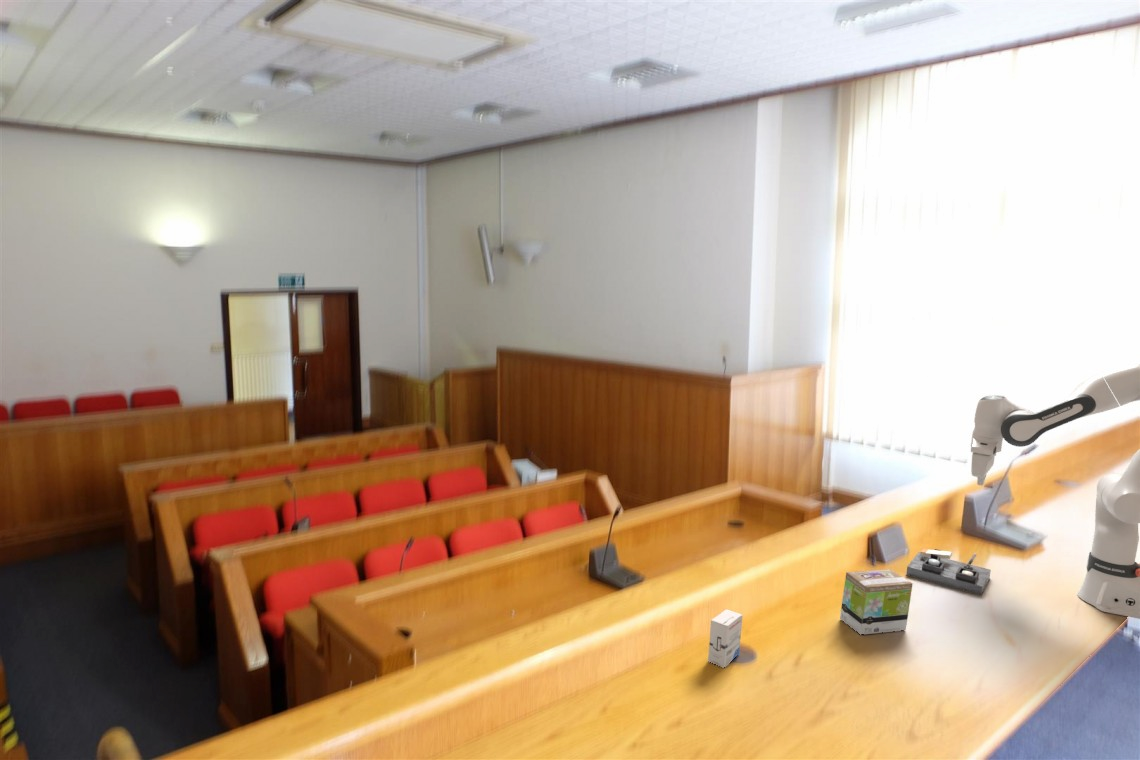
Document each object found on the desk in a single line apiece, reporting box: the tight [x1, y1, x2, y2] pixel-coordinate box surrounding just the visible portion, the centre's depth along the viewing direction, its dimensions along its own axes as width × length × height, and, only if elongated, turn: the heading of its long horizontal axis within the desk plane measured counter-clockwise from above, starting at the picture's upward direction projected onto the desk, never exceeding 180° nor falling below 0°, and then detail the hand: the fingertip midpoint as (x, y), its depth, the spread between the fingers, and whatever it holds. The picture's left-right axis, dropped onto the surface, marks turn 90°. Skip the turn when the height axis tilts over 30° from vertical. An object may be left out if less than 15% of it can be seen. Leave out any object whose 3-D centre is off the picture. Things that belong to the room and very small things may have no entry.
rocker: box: [919, 548, 953, 560], centre depth 255 cm, size 9×4×2 cm, turn 53°
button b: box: [928, 559, 939, 566], centre depth 248 cm, size 3×3×1 cm
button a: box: [962, 571, 973, 576], centre depth 243 cm, size 3×3×1 cm
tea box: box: [839, 568, 913, 636], centre depth 215 cm, size 15×10×15 cm
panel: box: [906, 548, 992, 596], centre depth 249 cm, size 22×16×6 cm
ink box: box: [707, 608, 744, 669], centre depth 195 cm, size 9×5×12 cm, turn 141°
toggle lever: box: [966, 553, 978, 567], centre depth 249 cm, size 1×1×5 cm
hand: (980, 484), depth 253 cm, fingers closed
